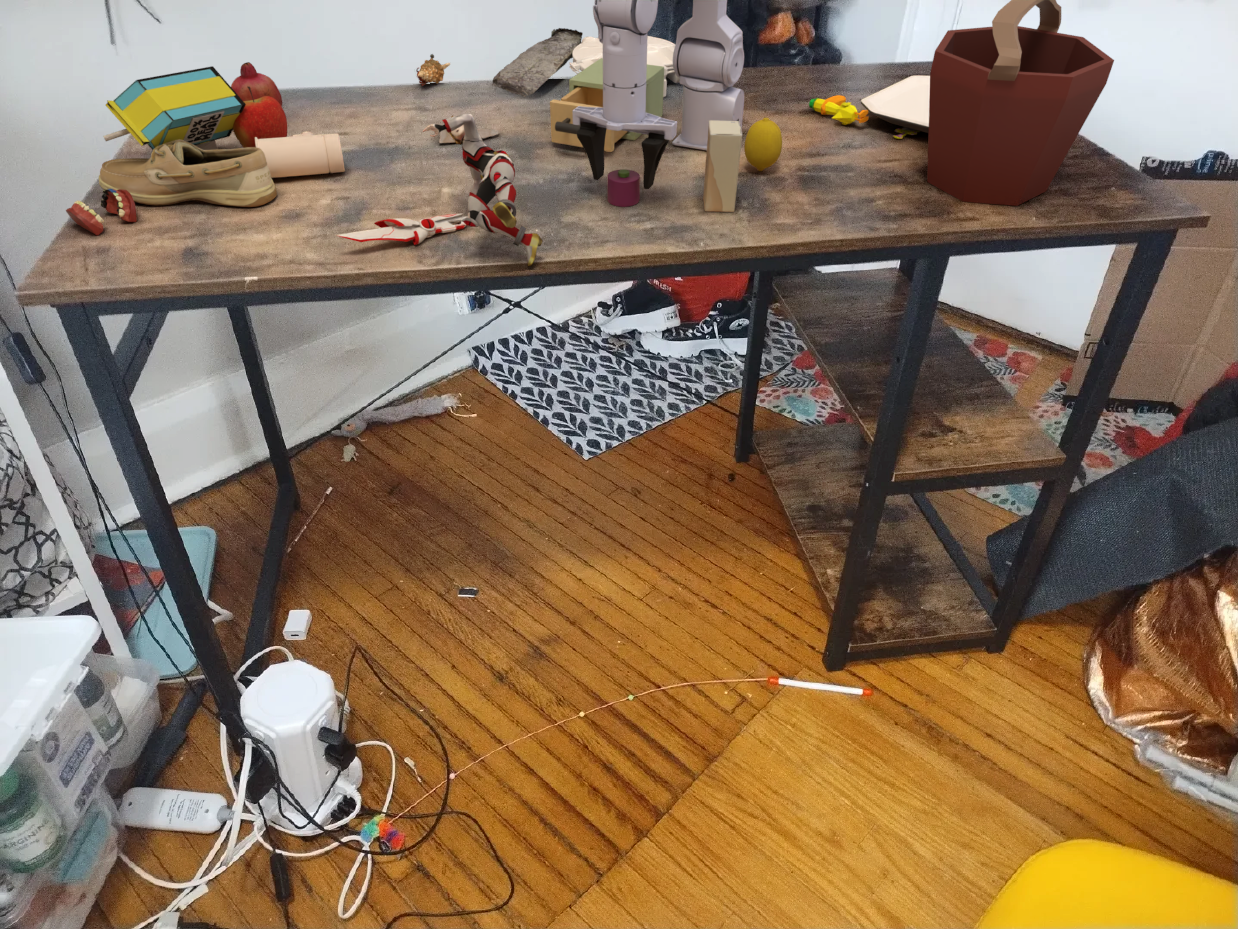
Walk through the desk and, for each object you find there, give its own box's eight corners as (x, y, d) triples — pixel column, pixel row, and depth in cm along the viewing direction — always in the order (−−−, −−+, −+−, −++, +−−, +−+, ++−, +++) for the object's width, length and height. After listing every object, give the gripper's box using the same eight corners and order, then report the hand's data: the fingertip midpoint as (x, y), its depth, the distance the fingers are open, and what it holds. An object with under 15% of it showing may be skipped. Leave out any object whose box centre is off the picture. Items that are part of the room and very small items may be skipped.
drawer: (601, 161, 135) (600, 119, 131) (540, 150, 138) (538, 109, 134) (639, 127, 146) (639, 88, 142) (581, 118, 149) (581, 79, 145)
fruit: (285, 132, 145) (270, 68, 139) (233, 136, 144) (216, 71, 138) (289, 115, 151) (275, 53, 145) (240, 118, 150) (223, 56, 144)
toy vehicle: (546, 31, 169) (548, 65, 173) (598, 74, 152) (599, 111, 156) (657, 15, 176) (656, 48, 180) (718, 54, 159) (715, 90, 163)
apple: (249, 168, 134) (231, 100, 128) (233, 151, 139) (215, 85, 133) (301, 156, 138) (286, 90, 131) (284, 140, 143) (268, 75, 136)
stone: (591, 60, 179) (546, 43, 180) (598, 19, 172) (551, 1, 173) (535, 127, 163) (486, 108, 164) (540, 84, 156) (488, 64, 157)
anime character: (372, 317, 101) (314, 199, 115) (458, 374, 114) (396, 261, 127) (519, 179, 97) (440, 73, 110) (591, 255, 110) (512, 151, 123)
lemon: (777, 164, 137) (784, 111, 132) (779, 179, 133) (786, 125, 127) (741, 163, 137) (747, 110, 132) (742, 177, 133) (747, 123, 128)
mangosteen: (644, 196, 128) (645, 168, 125) (632, 209, 124) (632, 180, 122) (615, 191, 129) (615, 162, 126) (602, 203, 126) (602, 174, 123)
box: (702, 196, 128) (708, 118, 121) (732, 197, 128) (740, 119, 120) (704, 212, 124) (710, 133, 117) (735, 213, 124) (742, 133, 116)
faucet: (254, 141, 125) (339, 134, 128) (255, 124, 135) (334, 119, 138) (263, 185, 128) (346, 178, 131) (264, 165, 138) (340, 159, 141)
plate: (1014, 162, 136) (1019, 148, 134) (845, 117, 149) (848, 103, 148) (1073, 118, 153) (1078, 105, 152) (917, 82, 167) (920, 69, 166)
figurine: (397, 82, 161) (413, 103, 163) (414, 70, 158) (431, 92, 160) (435, 48, 169) (450, 69, 171) (452, 36, 166) (467, 58, 168)
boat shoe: (93, 202, 124) (71, 145, 119) (126, 176, 131) (107, 121, 126) (262, 215, 123) (247, 158, 117) (288, 188, 129) (275, 133, 124)
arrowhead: (439, 148, 142) (501, 145, 144) (439, 141, 141) (501, 137, 143) (436, 130, 145) (496, 127, 147) (435, 123, 144) (496, 120, 146)
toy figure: (880, 119, 149) (830, 104, 157) (880, 98, 147) (830, 83, 155) (849, 134, 147) (801, 118, 155) (849, 112, 145) (800, 97, 153)
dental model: (55, 197, 116) (114, 179, 121) (67, 226, 119) (124, 208, 124) (76, 210, 114) (136, 191, 119) (88, 240, 117) (146, 220, 121)
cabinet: (634, 140, 144) (635, 89, 139) (570, 130, 148) (568, 79, 142) (662, 115, 153) (664, 66, 148) (601, 106, 156) (600, 57, 151)
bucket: (998, 231, 120) (1057, 33, 104) (868, 179, 133) (902, -4, 117) (1093, 181, 132) (1159, -4, 115) (965, 137, 145) (1008, -34, 128)
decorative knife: (928, 117, 152) (952, 125, 149) (927, 120, 152) (951, 128, 149) (883, 131, 146) (907, 140, 143) (883, 134, 147) (907, 143, 144)
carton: (194, 102, 135) (88, 124, 121) (211, 64, 130) (103, 83, 116) (228, 141, 135) (127, 167, 122) (246, 105, 130) (143, 128, 117)
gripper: (561, 82, 115) (564, 183, 124) (665, 98, 111) (661, 201, 120) (584, 67, 120) (585, 165, 129) (684, 81, 116) (679, 182, 125)
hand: (623, 181), depth 125 cm, fingers open, 7 cm apart
